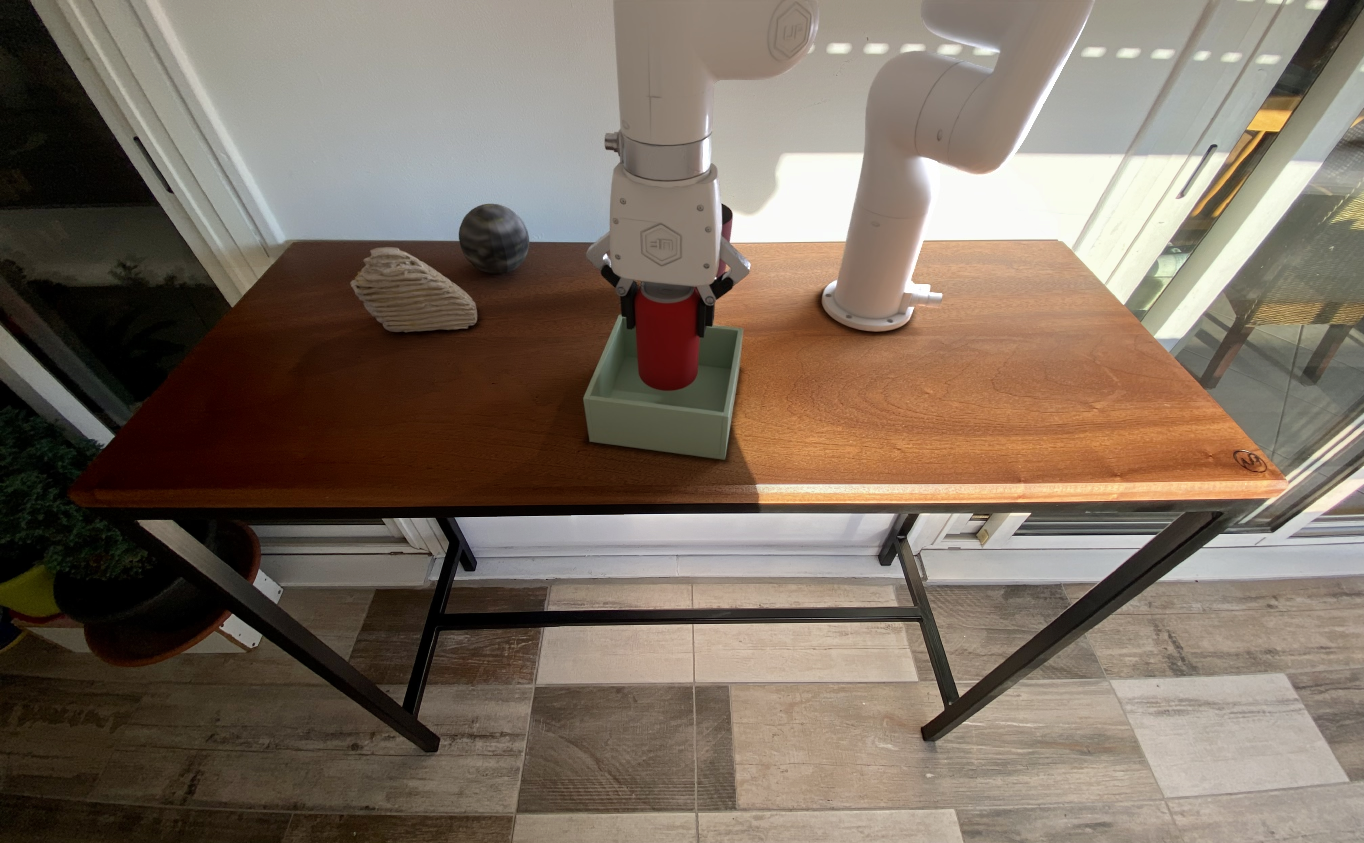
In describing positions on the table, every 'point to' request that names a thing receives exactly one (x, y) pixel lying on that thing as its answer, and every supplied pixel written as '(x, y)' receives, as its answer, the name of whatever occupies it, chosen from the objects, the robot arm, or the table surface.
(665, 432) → the sage green storage bin
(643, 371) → the beverage can
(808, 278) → the table surface
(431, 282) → the fossil tooth
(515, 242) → the decorative stone
